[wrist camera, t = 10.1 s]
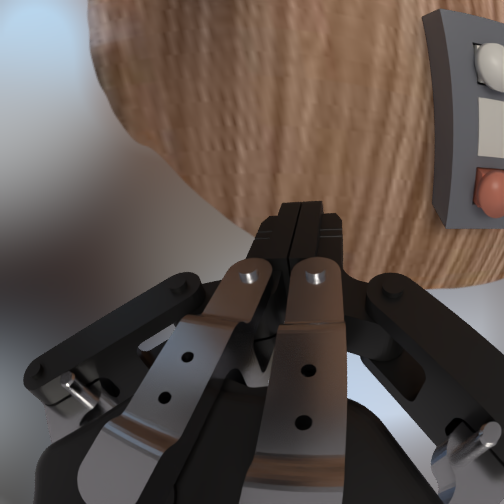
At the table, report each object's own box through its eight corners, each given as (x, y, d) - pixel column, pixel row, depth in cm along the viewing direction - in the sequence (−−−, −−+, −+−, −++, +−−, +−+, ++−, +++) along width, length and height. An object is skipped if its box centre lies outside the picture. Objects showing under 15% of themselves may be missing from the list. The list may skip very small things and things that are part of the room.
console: (421, 16, 21) (440, 8, 16) (496, 31, 18) (523, 30, 12) (431, 203, 36) (445, 229, 31) (495, 204, 33) (514, 229, 27)
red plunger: (460, 152, 29) (484, 173, 23) (493, 155, 27) (519, 176, 21) (457, 190, 32) (477, 217, 26) (488, 191, 30) (511, 218, 24)
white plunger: (451, 41, 21) (477, 38, 15) (486, 47, 19) (516, 49, 14) (456, 82, 24) (482, 88, 18) (491, 87, 22) (520, 96, 17)
